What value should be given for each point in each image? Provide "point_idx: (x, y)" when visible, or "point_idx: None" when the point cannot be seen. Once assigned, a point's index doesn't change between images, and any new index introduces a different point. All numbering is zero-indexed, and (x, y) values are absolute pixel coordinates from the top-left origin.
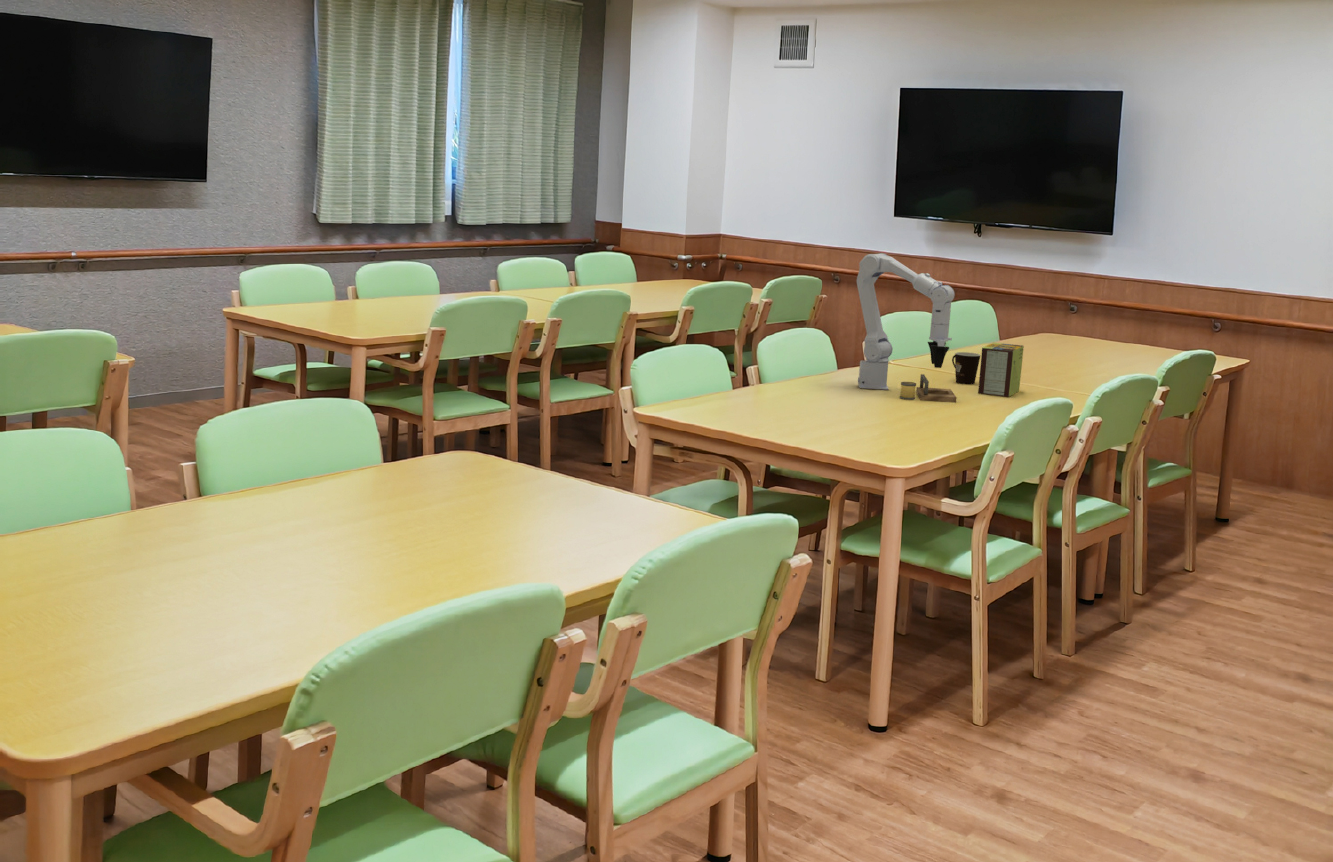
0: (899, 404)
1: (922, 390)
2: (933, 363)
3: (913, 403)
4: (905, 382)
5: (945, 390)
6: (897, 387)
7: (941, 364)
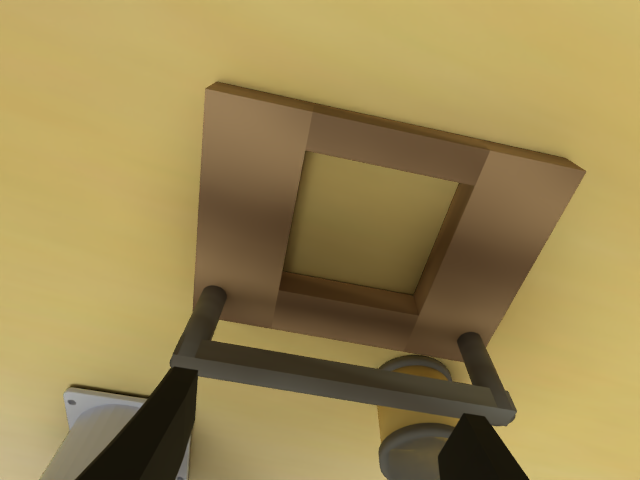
0: (556, 443)
1: (314, 315)
2: (191, 413)
3: (545, 392)
4: (408, 472)
5: (287, 160)
6: (80, 345)
7: (508, 459)
